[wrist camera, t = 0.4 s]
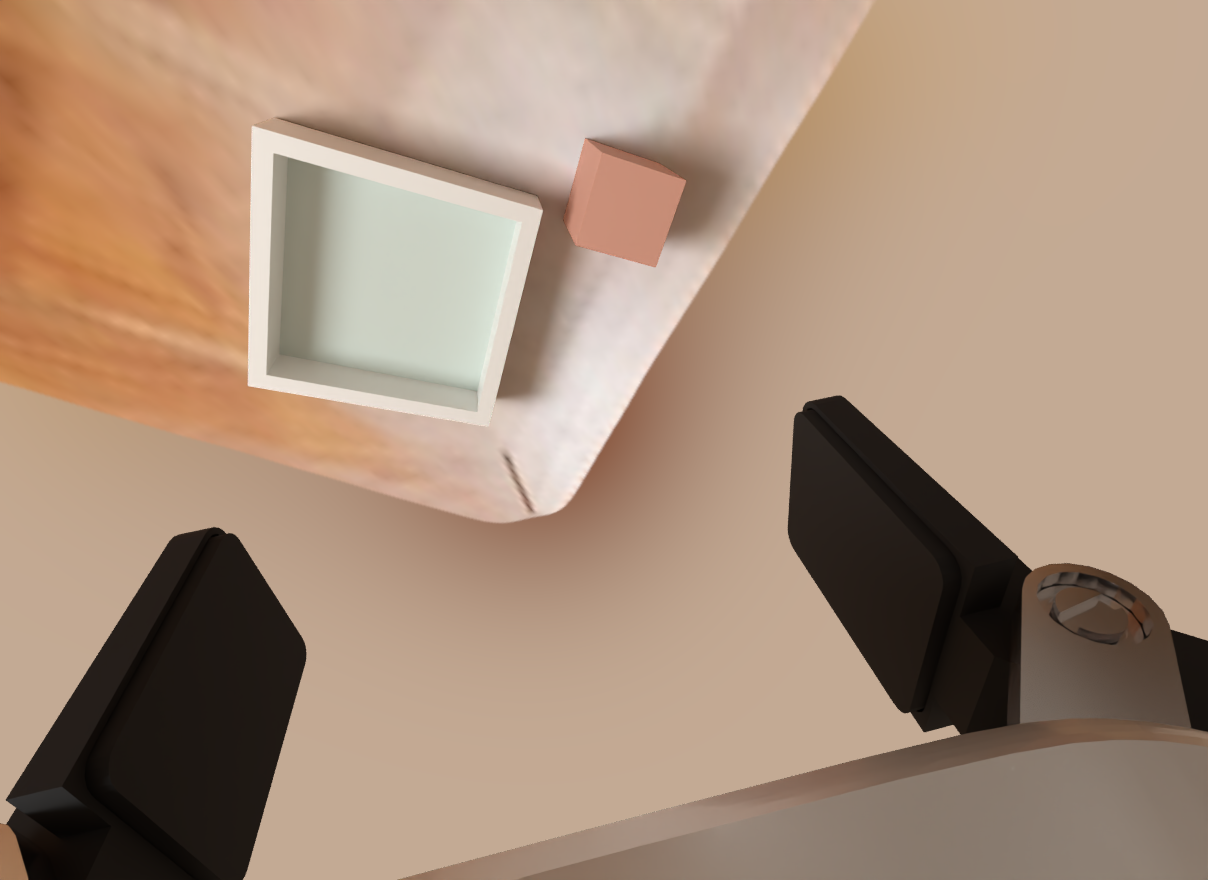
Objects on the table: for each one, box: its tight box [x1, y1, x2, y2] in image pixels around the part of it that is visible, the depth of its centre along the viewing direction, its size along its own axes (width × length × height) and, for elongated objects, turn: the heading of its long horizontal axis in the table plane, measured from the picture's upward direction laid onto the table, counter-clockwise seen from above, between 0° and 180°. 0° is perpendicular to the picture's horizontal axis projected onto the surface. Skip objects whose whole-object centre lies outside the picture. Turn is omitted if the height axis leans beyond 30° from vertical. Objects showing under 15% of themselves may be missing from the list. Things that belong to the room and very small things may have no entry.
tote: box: [248, 118, 543, 427], centre depth 37 cm, size 15×15×4 cm
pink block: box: [563, 138, 686, 267], centre depth 36 cm, size 5×5×6 cm
